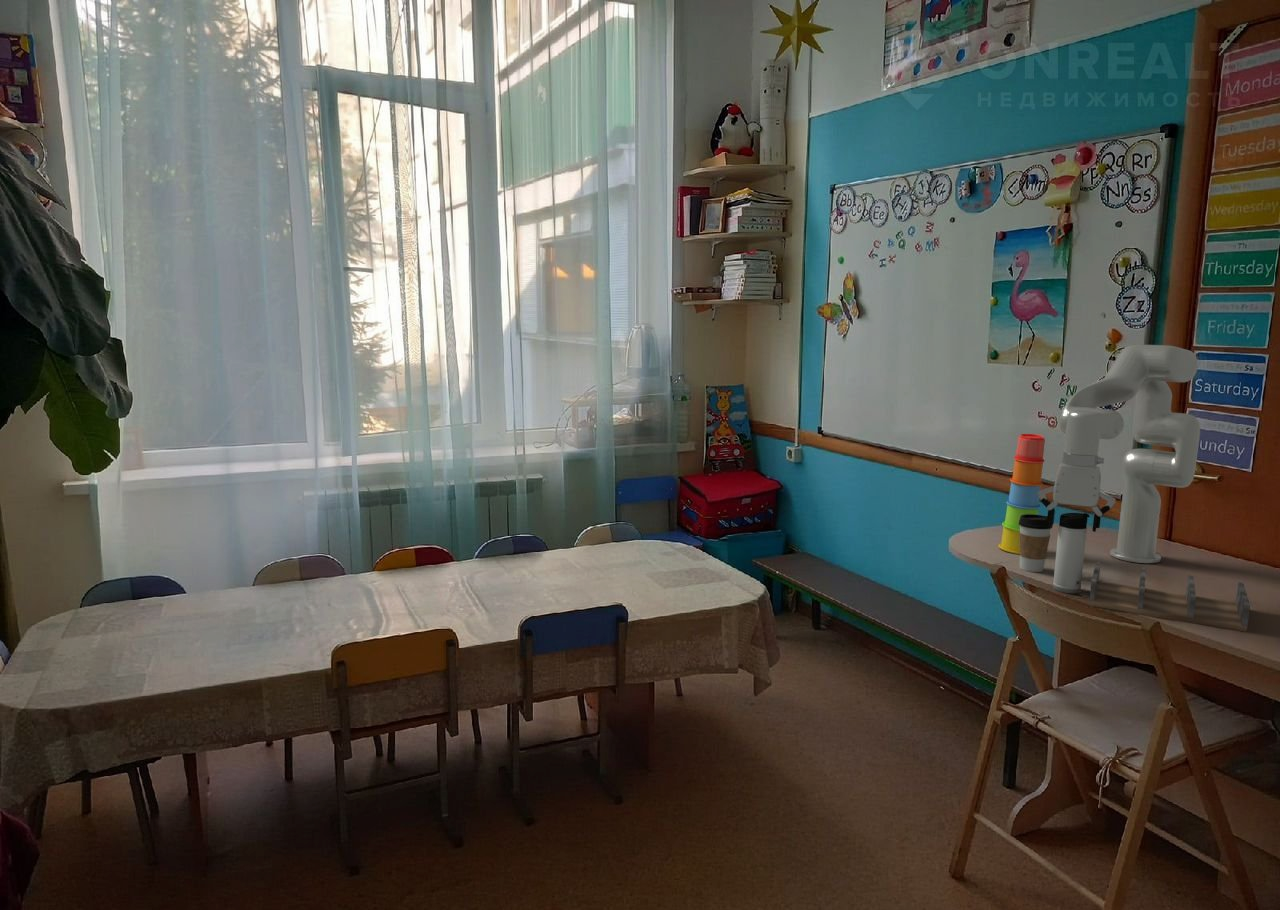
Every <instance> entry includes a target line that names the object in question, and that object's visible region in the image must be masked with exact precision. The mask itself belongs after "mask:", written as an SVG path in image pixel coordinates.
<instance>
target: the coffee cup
mask: <svg viewBox="0 0 1280 910" xmlns="http://www.w3.org/2000/svg"><path fill="white" fill-rule="evenodd" d="M1047 516H1048V515H1042V514H1038V515H1034V514H1024V515H1021V517H1020V520H1019V525H1020V531H1019V548H1020V554H1019V569H1021V570H1022V571H1024V572H1025V571H1026V572H1030V573H1031V572H1032V573H1042V572H1043V571H1044V570H1045V569H1044V568H1045V563H1046V559H1047V553H1048V549H1049V543H1050V538H1051V529H1052V528H1053V526H1049V524H1050V522H1047Z"/></svg>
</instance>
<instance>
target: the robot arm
mask: <svg viewBox="0 0 1280 910" xmlns="http://www.w3.org/2000/svg"><path fill="white" fill-rule="evenodd" d="M1198 366H1199V362H1198V358H1197V355H1196V354H1195V353H1194V352H1193V351H1191V350H1188V349H1185V348H1181V347H1178V346H1174V345H1166V344H1132V345H1127V346H1126V347H1124V348H1123V349H1122V350H1121V351H1120V352H1119V353H1118V356H1117V357H1116V359H1115V360H1114V362H1113V363H1112V365H1111V367H1109V369H1108V371H1107V373H1106V374H1105V376H1104V377H1103V378H1101V379H1100V380H1097V381H1094V382H1092V383H1090V384H1089V385H1086V386H1085V387H1082V388H1080V389H1079V390H1077V391H1076V392H1075V393H1073V395H1071V397H1069V400H1068V401H1067V403H1066V404H1065V406H1064V407H1063V410H1062V411H1061V413H1060V416H1059V421H1058V423H1059V428H1060V430H1061V432H1062V433H1064V434H1065V436H1064V445H1063V455H1062V463H1059V465H1058V468H1057V469H1056V476H1055V481H1054V485H1052V486H1048V487H1045V488H1043V489H1042V488H1041V489H1040V490H1039V491H1038V495H1039V500H1040V502H1041V503H1042V504H1043V506H1044V507H1046V509H1047V515H1046V516H1047V522H1050V524H1049V526H1052V527H1053V526H1054V524H1055V515H1056V510H1055V507H1057V506H1058V505H1062V506H1063V505H1065V506H1071V507H1080V508H1090V509H1092V511H1093V512H1094V515H1093V520H1092V522H1093V523H1092V530H1091V531H1092V532H1094V533H1095V532H1097V529H1100V528H1101V527H1100V525H1101V519H1102V518H1101V517H1102V515H1105V514H1106V513H1107V512H1109V511H1110V510H1111V509H1112V507H1113V506H1114V505H1115V503H1116V498H1114V497H1113V496H1111V495H1109V494H1107V493H1106V492H1104V491H1102V490H1101V482H1102V481H1101V477H1102V476H1101V468H1100V467H1099V466H1097V465H1100V464H1104V463H1105V458H1104V457H1101V456H1099V447H1100V440H1113V439H1116V438H1117V437H1118V436H1119V435H1121V433H1122V431H1123V430H1124V427H1125V421H1124V420H1125V419H1124V417H1123V416H1122V414H1121V413H1119V411H1116V410H1113V409H1105V408H1100V407H1104V406H1105V407H1106V406H1111V405H1116V404H1120V403H1124V402H1127V401H1130V400H1132V399H1133V398H1134V397H1135V405H1134V406H1135V407H1134V415H1133V423H1132V437H1133V439H1134V440H1135V441H1136V442H1138V443H1140V444H1144V445H1150V446H1161V447H1167V448H1168V447H1169V448H1173V449H1174V451H1165V450H1159V449H1151V448H1133V449H1130V450H1128V451H1127V452H1126V453H1125V454H1124V455H1123V457H1122V462H1121V471H1122V485H1123V486H1122V497H1121V498H1122V499H1121V504H1120V505H1121V507H1120V514H1119V515H1120V517H1119V524H1118V534H1117V535H1118V536H1117V544H1116V547H1113V548H1111V549H1110V551H1109V552H1110V553H1109V554H1110V555H1111V556H1112V557H1114V558H1116V559H1119V560H1121V561H1126V562H1131V563H1137V564H1138V563H1139V564H1156V563H1159V562H1161V561H1162V556H1161V555H1160V554H1159V553H1157V552H1156V549H1157V542H1158V541H1157V539H1158V532H1159V523H1160V515H1161V514H1160V512H1161V505H1162V498H1161V494H1160V492H1159V491H1158V490H1157V489H1158V488H1156V485H1158V486H1164V487H1170V488H1171V487H1172V488H1187V487H1189V486H1190V485H1191V484H1192V482H1193V481H1194V478H1195V474H1196V467H1197V459H1198V451H1199V445H1200V436H1201V426H1200V422H1199V420H1198V418H1197V417H1196V416H1194V415H1192V414H1190V413H1184V412H1183V413H1182V412H1172V400H1173V394H1172V393H1173V392H1172V391H1171V388H1170V386H1169V385H1168V383H1167V382H1172V383H1187V382H1189V381H1191V380H1192V379H1194V377H1195V375H1196V373H1197V372H1198V368H1199V367H1198ZM1050 493H1052V495H1053V496H1052V501H1051V502H1050V501H1049V499H1047V496H1046V494H1050ZM1100 498H1101V499H1103V500H1104V501H1107V503H1106V504H1105V505H1104V506H1103V507H1100V506H1099V502H1100Z"/></svg>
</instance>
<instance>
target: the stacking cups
mask: <svg viewBox="0 0 1280 910" xmlns="http://www.w3.org/2000/svg"><path fill="white" fill-rule="evenodd" d="M1045 443H1046V440H1045V437H1044V436H1043V435H1040V434H1034V433H1021V434H1020V436H1018V440H1017V447H1016V453H1015V456H1013V459H1014V464H1013V470H1012V471H1013V473H1012V477H1011V478H1009V481H1010V488H1009V495H1008V500H1006V502H1005V503H1006V504H1007V506H1006V514H1005V520H1004V521H1003V522H1002V524H1001V525H1002V526H1003V527H1002V528H1003V530H1002V535H1001V542H1000V543H999V544H998V548H999V549H1001V551H1005V552H1007V553H1011V554H1017V555H1020V548H1019V531H1020V525H1019V520H1020V517H1021V515H1024V514H1034V515H1039V509H1040V508H1041V504H1040V497H1039V495H1038V491H1039V490H1042V485H1044V484H1043V482H1042V475H1043V474H1042V473H1043V465H1044V463H1045V459H1044V453H1045V445H1046V444H1045Z"/></svg>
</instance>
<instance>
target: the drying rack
mask: <svg viewBox="0 0 1280 910" xmlns="http://www.w3.org/2000/svg"><path fill="white" fill-rule="evenodd" d="M1101 564H1102V563H1101V562H1100V561H1099V562H1098V561H1096V562H1095V565H1094V569H1093V573H1092V578H1091V580H1090V581H1091V582H1090V592H1089V599H1088V600H1089V602H1088V606H1091V607H1097V608H1101V609H1109V610H1114V611H1119V612H1126V613H1132V614H1137V615H1144V616H1149V617H1155V618H1162V619H1168V620H1174V621H1180V622H1187V623H1191V624H1198V625H1204V626H1210V627H1216V628H1220V629H1221V628H1222V629H1227V630H1235V631H1240V632H1244V633H1245V632H1247V629H1248V624H1249V617H1250V611H1251V610H1250V609H1251V603H1250V600H1249V596H1248V593H1247V591H1246V588H1245V583H1244V582H1241V581H1238V582H1237V589H1236V595H1235V601H1232V600H1231V601H1230V600H1224V599H1219V598H1211V597H1206V596H1201V595H1200V596H1199V595H1197V593H1196V586H1195V585H1196V584H1195V578H1194V575H1191V574H1188V576H1187V585H1186V593H1179V592H1172V591H1166V590H1159V589H1154V588H1147V587H1146V575H1147V573H1146V572H1147V571H1146V570H1147V568H1142V567H1141V568H1140V575H1139V584H1138V585H1139V586H1133V585H1128V584H1127V585H1126V584H1120V583H1114V582H1113V583H1112V582H1106V581H1102V580H1101V581H1100V574H1101V573H1100V571H1101Z"/></svg>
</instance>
